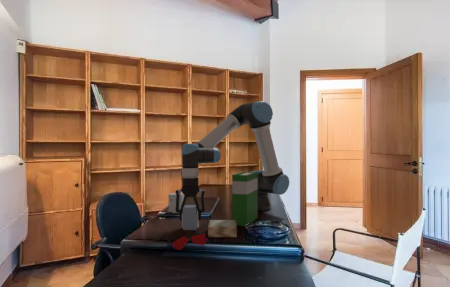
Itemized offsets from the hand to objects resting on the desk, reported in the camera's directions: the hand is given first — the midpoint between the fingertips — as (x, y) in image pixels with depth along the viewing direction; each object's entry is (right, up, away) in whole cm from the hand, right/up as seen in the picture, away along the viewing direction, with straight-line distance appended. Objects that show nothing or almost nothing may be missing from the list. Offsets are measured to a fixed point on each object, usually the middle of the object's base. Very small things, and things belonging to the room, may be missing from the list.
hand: (190, 227), depth 136 cm
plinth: (+15, 0, -7) cm, 17 cm away
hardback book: (+26, -1, +12) cm, 29 cm away
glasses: (-1, -1, -19) cm, 19 cm away
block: (0, 0, 0) cm, 0 cm away
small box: (-12, -1, +32) cm, 34 cm away
